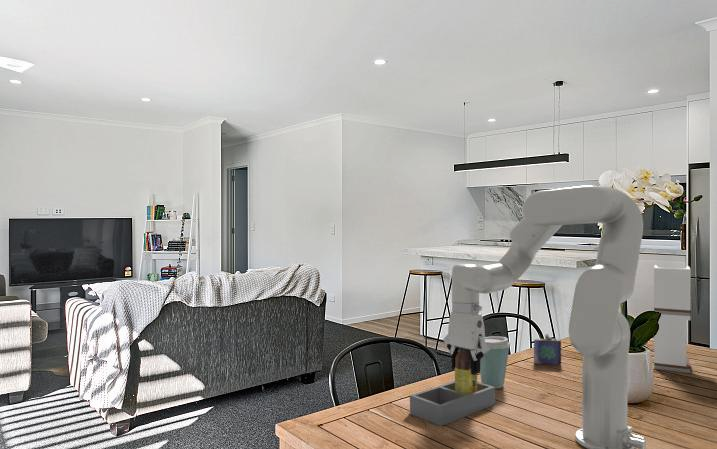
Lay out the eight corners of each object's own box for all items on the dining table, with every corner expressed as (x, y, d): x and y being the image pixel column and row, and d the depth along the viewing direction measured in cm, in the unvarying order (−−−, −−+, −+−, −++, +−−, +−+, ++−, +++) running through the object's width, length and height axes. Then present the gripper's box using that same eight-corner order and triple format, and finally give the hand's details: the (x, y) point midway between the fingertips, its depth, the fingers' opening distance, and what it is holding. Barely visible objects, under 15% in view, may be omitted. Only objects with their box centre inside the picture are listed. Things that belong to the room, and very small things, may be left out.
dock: (495, 404, 147) (495, 387, 146) (440, 426, 132) (440, 406, 132) (464, 394, 155) (464, 377, 155) (409, 413, 140) (409, 395, 140)
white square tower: (690, 373, 174) (690, 269, 174) (654, 368, 180) (654, 267, 179) (688, 364, 184) (688, 266, 184) (654, 360, 190) (654, 265, 189)
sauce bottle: (477, 409, 143) (477, 337, 143) (454, 407, 144) (454, 336, 144) (477, 400, 150) (477, 332, 149) (455, 399, 151) (454, 331, 150)
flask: (534, 364, 186) (534, 334, 185) (533, 362, 188) (533, 333, 188) (561, 366, 183) (561, 336, 183) (560, 364, 186) (560, 334, 186)
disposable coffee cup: (475, 389, 159) (474, 341, 159) (475, 378, 170) (475, 333, 170) (511, 392, 157) (511, 342, 157) (509, 381, 167) (509, 334, 167)
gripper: (499, 310, 142) (499, 375, 143) (450, 302, 156) (450, 362, 156) (482, 313, 137) (482, 381, 138) (433, 305, 151) (433, 366, 151)
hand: (465, 370), depth 147 cm, fingers closed on sauce bottle, 6 cm apart
